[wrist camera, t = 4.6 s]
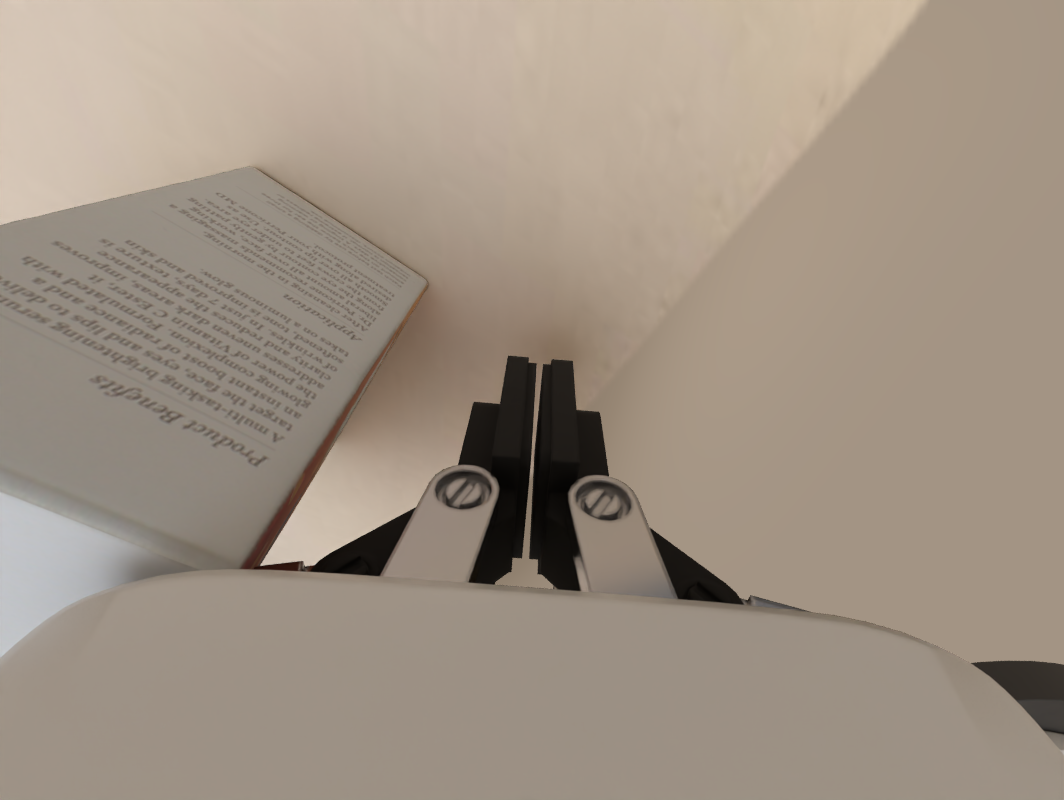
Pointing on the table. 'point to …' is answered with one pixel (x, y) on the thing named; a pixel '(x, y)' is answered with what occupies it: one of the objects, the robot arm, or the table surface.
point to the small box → (174, 380)
